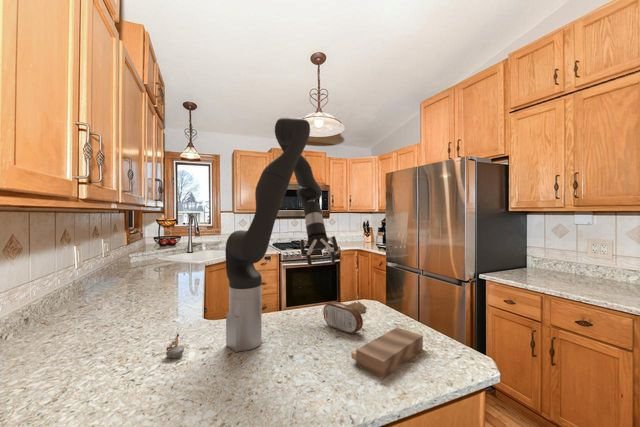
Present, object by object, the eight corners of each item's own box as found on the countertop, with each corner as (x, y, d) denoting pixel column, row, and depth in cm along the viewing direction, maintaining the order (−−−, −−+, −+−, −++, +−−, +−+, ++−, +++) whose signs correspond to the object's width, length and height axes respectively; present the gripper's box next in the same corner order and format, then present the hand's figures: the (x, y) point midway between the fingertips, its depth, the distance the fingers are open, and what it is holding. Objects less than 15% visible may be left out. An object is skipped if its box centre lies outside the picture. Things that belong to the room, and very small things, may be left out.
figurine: (184, 358, 73) (183, 334, 74) (165, 362, 71) (164, 338, 72) (184, 352, 78) (183, 330, 78) (166, 356, 76) (166, 333, 76)
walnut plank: (383, 379, 64) (383, 361, 64) (351, 363, 71) (351, 347, 71) (422, 349, 78) (422, 335, 78) (392, 338, 85) (392, 325, 85)
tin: (363, 335, 88) (363, 308, 88) (357, 338, 85) (357, 310, 85) (327, 322, 98) (327, 298, 98) (321, 324, 96) (321, 300, 96)
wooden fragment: (353, 326, 95) (353, 323, 95) (324, 320, 100) (324, 317, 100) (373, 304, 118) (373, 301, 118) (348, 301, 123) (348, 298, 123)
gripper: (297, 223, 107) (303, 263, 100) (333, 219, 110) (342, 258, 102) (297, 232, 114) (302, 269, 106) (331, 228, 116) (339, 265, 108)
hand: (322, 264), depth 104 cm, fingers open, 8 cm apart
